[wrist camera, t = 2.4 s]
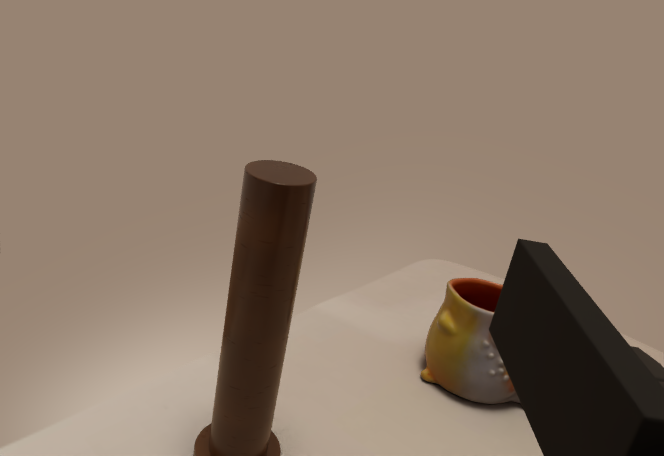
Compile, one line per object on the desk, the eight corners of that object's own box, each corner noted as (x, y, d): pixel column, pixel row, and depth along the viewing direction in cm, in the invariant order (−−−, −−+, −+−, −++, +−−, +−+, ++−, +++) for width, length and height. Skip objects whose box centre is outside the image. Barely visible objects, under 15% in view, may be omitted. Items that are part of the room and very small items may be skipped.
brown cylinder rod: (198, 502, 28) (239, 188, 21) (187, 435, 31) (219, 151, 25) (287, 489, 29) (348, 194, 23) (267, 427, 33) (315, 158, 27)
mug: (402, 374, 40) (426, 290, 37) (442, 335, 45) (465, 260, 43) (580, 469, 34) (621, 379, 32) (600, 412, 40) (637, 331, 37)
